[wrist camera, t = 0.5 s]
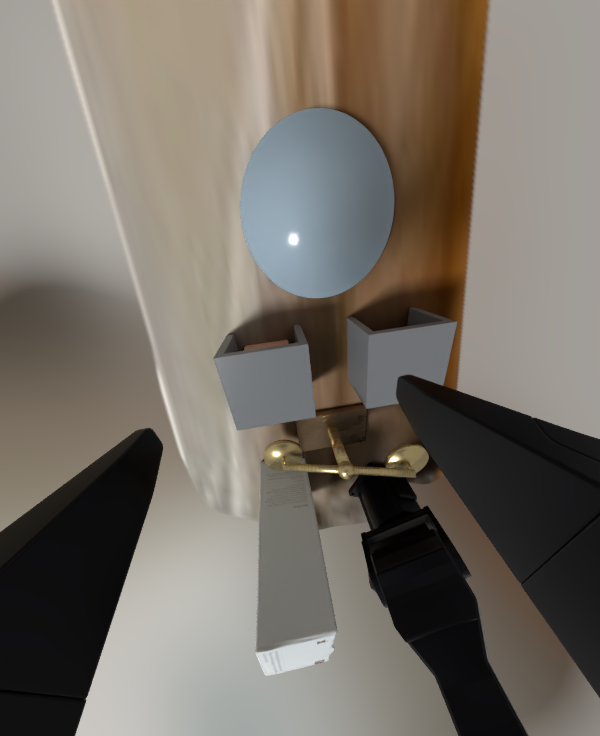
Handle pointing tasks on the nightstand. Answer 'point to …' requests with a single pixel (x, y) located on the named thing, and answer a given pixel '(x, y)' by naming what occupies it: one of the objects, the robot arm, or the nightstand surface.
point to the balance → (341, 446)
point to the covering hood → (267, 382)
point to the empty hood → (397, 355)
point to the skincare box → (291, 576)
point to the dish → (317, 203)
